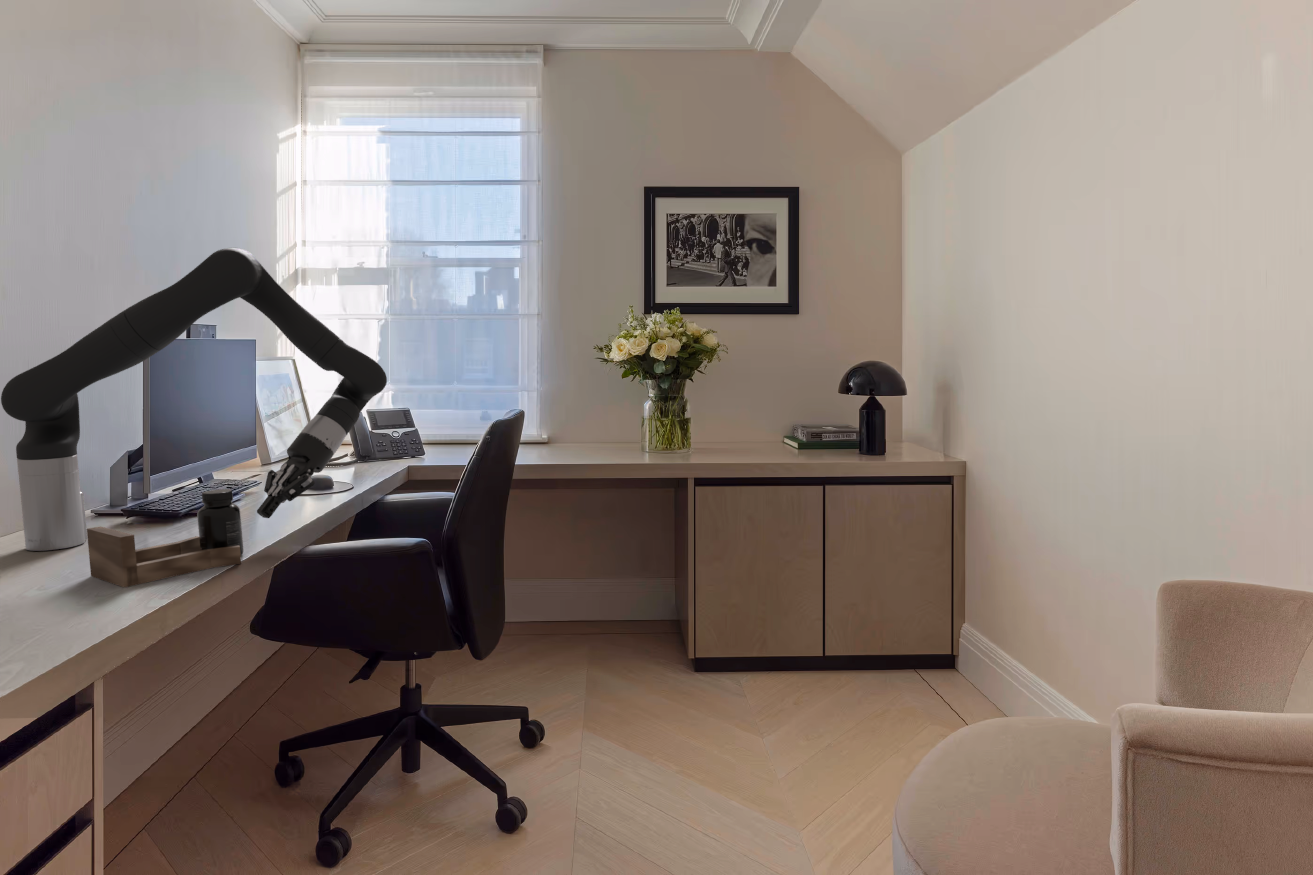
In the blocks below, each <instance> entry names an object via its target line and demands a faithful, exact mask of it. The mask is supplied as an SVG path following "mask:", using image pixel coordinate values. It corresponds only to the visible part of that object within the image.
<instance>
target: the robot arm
mask: <svg viewBox="0 0 1313 875" xmlns="http://www.w3.org/2000/svg"><path fill="white" fill-rule="evenodd" d="M239 298H240V299H242V300H243V301H244V302H246V303H248V304H250V305H251V306H252V307H254V308H255V309H257V310H258V311H260V313H262V314H263V315H264V316H265V317H267V318H268V319H269V320H270V321H271V322H272V323H273V324H274V325H275V326H276V327H277V328H278V329H279V330H280V332H281V333H282V334H283V335H284V336H285V337H286V338H287V339H288V341H290V343H291V344H292V345H294V346H295V348H297V349H298V350H299V351H300V352H301V353H303V355H304V356H306V357H307V358H308V359H310V360H311V361H312V362H313V363H314V364H315V365H317V366H318V367H319V368H320V369H322V370H324V371H326V372H335V373H336V374H338V375H340V376H341V377H343V378H342V379H341V380H340V382H339V383H338V385H337V386H336V388H335V389H334V392H333V393H332V395H331V397H330V398H328V399H327V400H326V402H325V403H324V404H323V405H322V407H321V408H320V409H319V410H318V412H317V413H316V414H315V416H314V417H313V418H312V419H310V420H309V421H308V422H307V423H306V425H305V426H304V427H303V429H302V430H301V432H299V434H298V435H297V436H296V437H295V439H294V440H293V441H292V443H291V444H290V445H289V446H288V447H287V449H286V454H287V456H288V459H287V460H286V461H285V462H284V463H283V464H281V466H280V469H278V470H276V471H274V470H273V469H270V470H269V471H268V472H267V475H266V481H265V484H264V489H263V491H264V493H266V495H267V497H265V500H264V501H263V502H262V503H261V504H260V506H259V507H258V508H257V510H256V513H257V514H258V515H259V516H260V517H261V518H265V519H270V518H271V517H272V516H273V515H274V513H275V512H276V511H277V509H278V508H279V506H280V505H281V504H284V503H286V501H288V502H292V501H294V500H295V499H296V498H298V497H299V496H300V495H301V494H303V493H305V492H306V491H308V490H309V489H311V488H312V487H313V486H315V484H316V482H315V481H314V480H313V479H312V476H313V475H314V473H315V474H316V473H318V474H319V473H321V472H322V471H323V470H324V469H325V468H326V466H327V465H328V463H329V462H330V460H331V459H332V457H334V455H335V453H337V451H338V450H339V449H340V447H341V446H342V444H343V442H344V440H345V438H346V437H347V436H348V434H349V433H350V431H351V430H352V429H353V428H354V426H355V425H356V423H357V422H358V420H359V418H360V416H361V415H360V414H361V412H362V410H363V409H364V408H365V407H366V406H367V404H368V403H369V401H371V399H372V398H374V397H375V396H376V395H379V394H380V393H381V392H382V391H383V390H385V388H386V385H387V382H388V378H387V374H386V372H385V369H383V368H382V366H381V365H380V364H379V363H378V361H376V360H374V359H373V358H371V357H370V356H368V355H367V354H365V353H363V352H362V351H360V350H358V349H356V348H355V347H354V346H353V347H352V346H351V345H349V344H347V343H345V341H344V340H343V339H341V337H339V336H338V335H337V334H336V333H335V332H333V330H331V329H330V328H329V327H327V326H326V325H325V324H324V323H323V322H321V321H320V320H319V319H318V318H317V317H315V316H314V315H313V314H311V312H309V311H308V310H307V309H305V308H304V307H303V306H302V305H301V304H300V303H299V302H297V301H296V300H295V299H294V298H293V297H292V296H291V295H290V294H288V292H287V291H286V290H284V288H283V287H282V286H281V285H280V284H279V283H278V282H277V281H276V280H275V279H274V277H272V275H271V274H270V273H269V272H268V271H267V269H265V267H264V265H262V263H261V262H260V261H259V260H258V259H257V257H256V256H254V254H252V252H250V251H248V250H246V249H245V248H244V249H243V248H240V247H227V248H221V249H218V250H216V251H214V252H212V253H211V254H210V255H208V257H206V258H205V259H204V260H203V261H202V262H200V264H198V265H197V266H196V267H194V269H192V270H191V271H189V272H188V273H187V274H186V275H184V276H183V277H182V278H180V279H178V280H177V281H176V282H175V283H173V284H171V285H170V286H168V287H166V288H164V289H162V290H160V291H157V292H155V293H154V294H151V295H149V296H147V297H145V298H144V299H141V300H140V301H138V302H136V303H134V304H133V305H131V306H129V307H127V308H126V309H124V310H122V311H121V312H119V313H117V314H116V315H115V316H113V317H111V318H110V319H109V320H106V322H104V323H103V324H101V325H99V326H98V327H97V328H95V329H94V330H92V331H91V332H89V333H88V334H86V335H85V336H83V337H82V338H80V339H78V341H76V342H75V343H73V344H72V345H71V346H70V347H68V348H67V349H65V350H64V351H62V352H60V353H59V354H57V355H55V356H53V357H52V358H50V359H48V360H46V361H44V362H42V363H40V364H38V365H36V366H33V367H31V368H29V369H27V370H25V371H23V372H21V373H19V374H17V375H15V376H14V377H12V378H11V379H10V380H9V381H8V382H7V383H6V384H5V386H3V389H2V391H1V396H0V404H1V407H2V409H3V411H4V412H5V413H6V414H7V415H8V416H10V417H11V418H12V419H15V420H17V421H22V422H24V423H25V430H24V434H23V436H22V437H21V439H20V440H19V442H18V443H17V444H16V446H15V452H16V458H17V459H16V463H17V472H18V483H19V484H18V485H19V493H20V505H21V514H22V522H23V523H22V524H23V536H24V544H25V546H24V547H25V550H26V551H31V552H33V551H41V552H42V551H44V552H45V551H52V550H53V551H54V550H59V549H61V550H62V549H67V548H72V547H73V548H74V547H76V546H80V545H82V544H84V543H85V542H86V540H87V541H88V537H87V529H88V528H87V519H86V509H85V498H84V497H85V496H84V493H83V492H82V491H81V482H80V480H81V479H80V471H79V470H80V469H79V460H78V451H77V450H78V443H79V440H80V436H81V426H80V422H81V421H80V404H79V396H78V393H80V392H81V391H82V390H84V389H86V388H87V387H89V386H91V385H93V384H95V383H97V382H99V381H101V380H104V379H107V378H108V377H112V376H113V375H117V374H119V373H122V372H124V371H126V370H128V369H130V368H133V367H135V366H137V365H139V364H140V363H143V362H144V361H146V360H148V359H149V358H150V357H152V356H154V355H155V354H157V353H159V352H160V351H161V350H164V348H166V347H167V346H169V345H170V344H172V343H174V341H176V340H177V339H178V338H179V337H180V336H181V335H182V334H183V333H185V332H186V331H187V330H188V329H189V328H190V327H191V326H192V325H193V324H194V323H196V321H198V320H200V319H201V318H203V317H204V316H205V315H207V314H209V313H210V312H212V311H214V310H216V309H218V308H220V307H221V306H224V305H226V304H227V303H230V302H231V301H234V300H237V299H239Z"/></svg>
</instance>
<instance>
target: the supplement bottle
mask: <svg viewBox="0 0 1313 875" xmlns="http://www.w3.org/2000/svg"><path fill="white" fill-rule="evenodd" d="M201 498H202V500H201V503H202V504H203V506H202V507H201V508H200V509H199V510H198V511H197V514H196V515H197V517H196V518H197V529H198V536H199V540H200V551H201V550H207V549H215V548H223V547H230V546H238V545H239V546H240V553H241V556H243V554H244V540H243V528H242V527H243V526H242V517H241V516H242V515H241V509H240V507H239V505H237V504H235V503H233V501H234V496H233V490H232V489H229V488H227V489H226V488H225V489H223V488H222V489H213V490H211V489H210V490H206V491H203V492H201Z"/></svg>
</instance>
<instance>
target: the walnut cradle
mask: <svg viewBox="0 0 1313 875" xmlns="http://www.w3.org/2000/svg"><path fill="white" fill-rule="evenodd" d="M86 529H87V544H88V545H87V546H88V548H87V549H88V557H89V567H90V569H89V570H90V577H92V578H94V579H98V580H101V581H104V582H107V583H110V584H113V585H117V586H119V587H122V588H128V587H133V586H137V585H141V584H147V583H151V582H155V581H159V580H164V579H168V578H172V577H176V576H182V575H186V574H190V573H196V572H199V571H204V570H205V571H206V570H209V569H212V568H213V569H214V568H221V567H227V566H234V565H240V564H242V558H241V557H242V555H241V553H240V546H239V545H238V546H230V547H223V548H215V549H207V550H201V551H200V540H199V535H198V536H192V537H189V538H185V539H181V540H177V541H174V542H168V543H164V544H159V545H153V546H148V547H143V548H137V549H136V541H135V534H132V533H127V532H124V531H121V530H120V531H119V530H116V529H112V528H109V527H104V526H95V527H89V528H86Z"/></svg>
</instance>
